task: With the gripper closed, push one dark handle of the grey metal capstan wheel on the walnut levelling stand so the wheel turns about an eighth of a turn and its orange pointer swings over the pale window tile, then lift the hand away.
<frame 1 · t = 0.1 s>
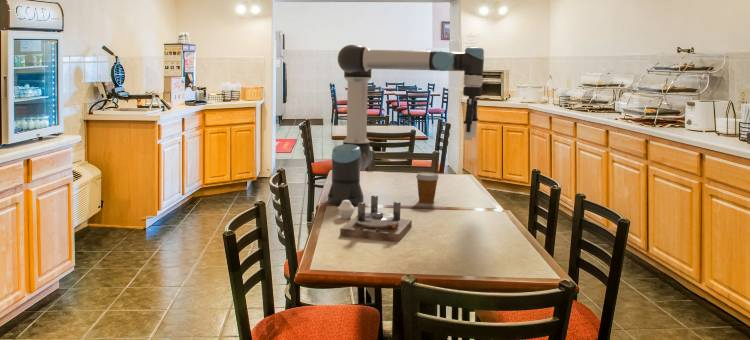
hand: (470, 138, 246), 28 cm above the table, tool pointing down, fingers open, 13 cm apart
muffin: (346, 218, 224), on the table
stand: (376, 231, 207), on the table
capstan: (378, 212, 206), point 7 cm above the table, hinge at 0.0°
disposable coffee cup: (426, 201, 255), on the table
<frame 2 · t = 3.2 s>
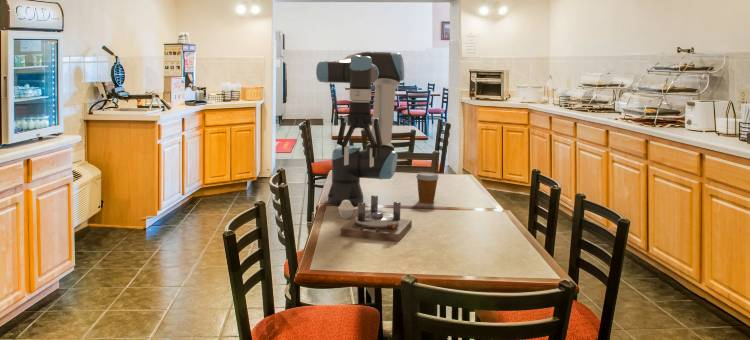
hand: (358, 165, 212), 21 cm above the table, tool pointing down, fingers open, 9 cm apart
nothing on the table moved.
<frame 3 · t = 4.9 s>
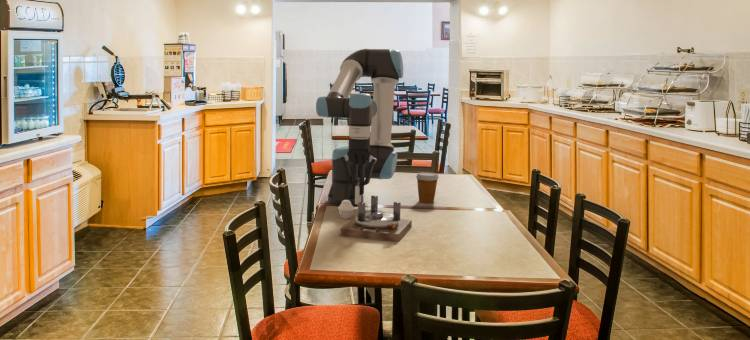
hand: (358, 203, 214), 8 cm above the table, tool pointing down, fingers closed
nothing on the table moved.
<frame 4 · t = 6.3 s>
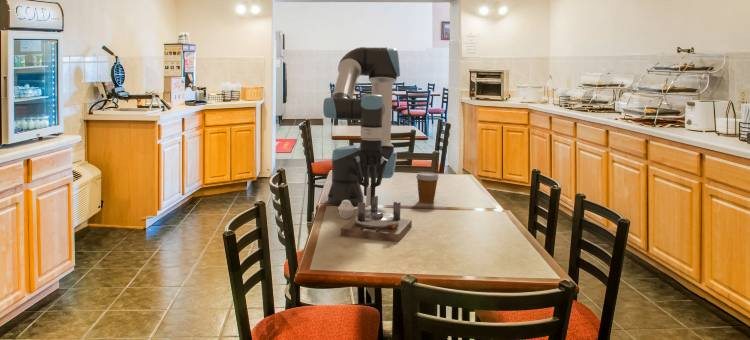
hand: (369, 204, 213), 7 cm above the table, tool pointing down, fingers closed
capstan: (378, 212, 206), point 7 cm above the table, hinge at -0.1°, touching gripper
everything else where it was.
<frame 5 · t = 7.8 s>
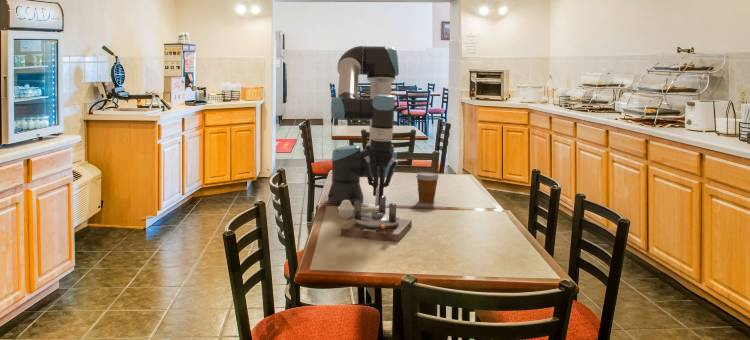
hand: (377, 205, 213), 7 cm above the table, tool pointing down, fingers closed
capstan: (378, 212, 205), point 7 cm above the table, hinge at -23.2°, touching gripper
everything else where it was.
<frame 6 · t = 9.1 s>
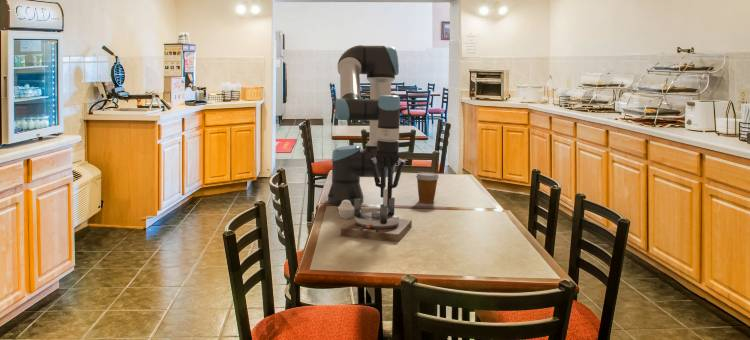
hand: (385, 206, 211), 7 cm above the table, tool pointing down, fingers closed
capstan: (377, 212, 205), point 7 cm above the table, hinge at -52.3°, touching gripper
everything else where it was.
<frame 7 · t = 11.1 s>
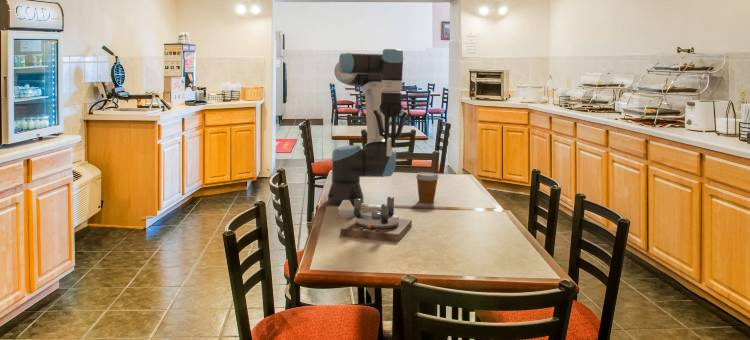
hand: (389, 155, 223), 23 cm above the table, tool pointing down, fingers closed
capstan: (377, 212, 205), point 7 cm above the table, hinge at -50.0°
everything else where it was.
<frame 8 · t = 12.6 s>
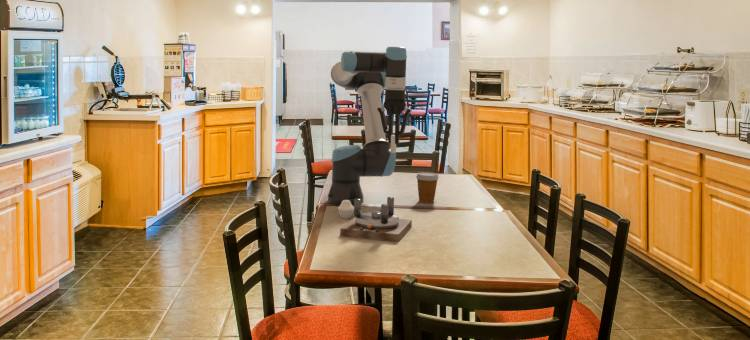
hand: (393, 152, 226), 24 cm above the table, tool pointing down, fingers closed
nothing on the table moved.
at the end: capstan at -50° (first picture: +0°) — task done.
